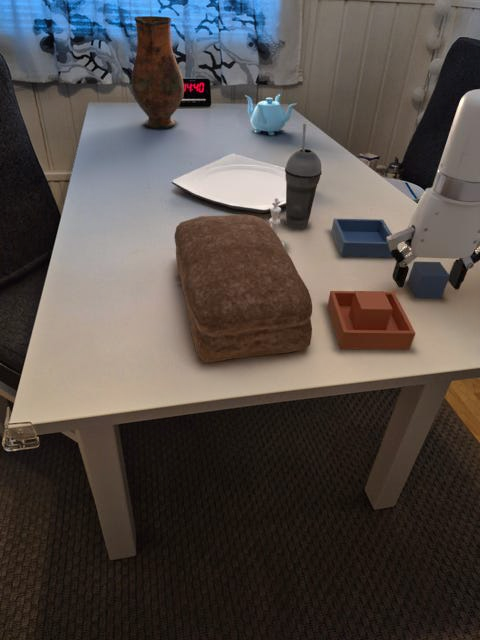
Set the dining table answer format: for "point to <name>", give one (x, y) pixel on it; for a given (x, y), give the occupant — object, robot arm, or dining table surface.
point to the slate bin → (361, 238)
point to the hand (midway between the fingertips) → (425, 283)
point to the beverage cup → (301, 185)
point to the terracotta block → (370, 310)
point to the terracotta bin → (348, 338)
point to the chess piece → (275, 216)
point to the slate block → (428, 280)
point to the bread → (241, 288)
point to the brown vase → (156, 72)
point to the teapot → (268, 115)
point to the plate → (237, 183)
